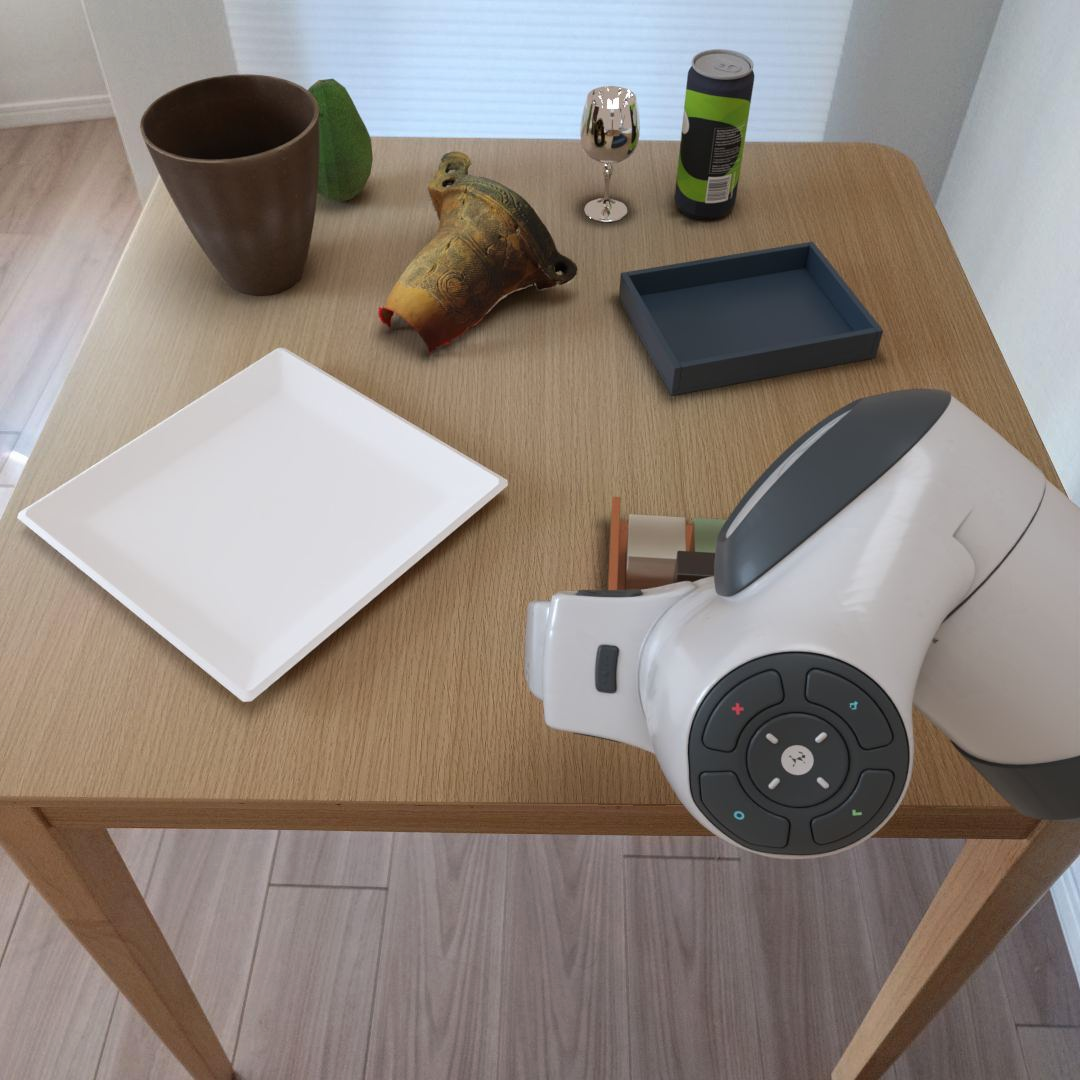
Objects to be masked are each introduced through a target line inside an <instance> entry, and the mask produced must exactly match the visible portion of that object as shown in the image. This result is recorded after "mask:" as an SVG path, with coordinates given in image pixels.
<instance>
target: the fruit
mask: <svg viewBox="0 0 1080 1080" xmlns="http://www.w3.org/2000/svg"><path fill="white" fill-rule="evenodd" d="M307 90H308V91H309V92H310V93H311V94H312V95H313V97H314V98H315V99H316V101H317V104H318V108H319V174H318V189H317V195H318V196H320V197H322V198H324V199H326V200H330V201H334V202H340V203H341V202H345V201H350V200H353V199H354V198H355V197H356V196H358V195H359V194H360V193H361V192H362V190H363V189H364V188H365V186H366V184H367V182H368V180H369V178H370V176H371V173H372V167H373V160H374V156H373V155H374V154H373V145H372V138H371V136H370V133H369V131H368V128H367V126H366V124H365V122H364V120H363V118H362V117H361V115H360V113H359V111H358V109H357V107H356V105H355V103H354V100H353V99H352V97H351V96H350V94H349V92H348V90H347V88H346V87H345V86H344V85H342V84H341V83H340V82H339V81H338V80H336V79H334V78H327V79H318V80H317V81H315V82H314V83H313V84H312V85H311V86H310V87H309V88H308V89H307Z"/></svg>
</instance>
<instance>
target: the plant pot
mask: <svg viewBox="0 0 1080 1080" xmlns="http://www.w3.org/2000/svg"><path fill="white" fill-rule="evenodd" d="M139 131H140V134H141V137H142V139H143V141H144V144H145V146H146V148H147V151H148V152H149V155H150V157H151V159H152V161H153V163H154V166H155V167H156V170H157V172H158V174H159V177H160V178H161V181H162V182H163V185H164V186H165V189H166V190H167V192H168V194H169V196H170V198H171V200H172V202H173V204H174V206H175V207H176V210H177V211H178V212H179V214H180V216H181V218H182V220H183V221H184V223H185V225H186V226H187V228H188V230H189V231H190V233H191V234H192V236H193V238H194V239H195V241H196V242H197V244H198V245H199V247H200V248H201V250H202V251H203V253H204V254H205V256H206V257H207V259H209V261H210V262H211V264H212V266H214V268H215V270H216V271H217V272H218V273H219V274H220V276H221V277H222V278H223V279H224V281H225V283H227V285H228V286H229V287H230V288H231V289H233V290H235V291H236V292H239V293H242V294H244V295H250V296H269V295H273V294H277V293H281V292H283V291H285V290H287V289H289V288H291V287H292V286H294V285H296V283H298V282H299V280H300V279H301V278H302V276H303V275H304V274H303V273H304V271H305V266H306V262H307V259H308V255H309V250H310V245H311V240H312V235H313V229H314V223H315V216H316V209H317V199H318V198H317V197H318V194H317V189H318V174H319V108H318V104H317V101H316V99H315V98H314V97H313V95H312V94H311V93H310V92H309V91H308V89H306V88H305V87H303V86H301V85H300V84H298V83H295V82H293V81H291V80H288V79H286V78H281V77H277V76H271V75H264V74H253V73H252V74H250V73H249V74H248V73H246V74H243V73H242V74H226V75H225V74H224V75H219V76H211V77H207V78H203V79H198V80H195V81H192V82H189V83H185V84H183V85H180V86H178V87H176V88H173V89H172V90H170V91H167V92H165V93H164V94H163V95H161V96H159V97H158V98H156V99H155V100H154V101H153V102H152V103H151V104H150V105H149V106H148V107H147V108H146V110H144V112H143V114H142V116H141V119H140V124H139Z"/></svg>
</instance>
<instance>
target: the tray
mask: <svg viewBox="0 0 1080 1080" xmlns="http://www.w3.org/2000/svg"><path fill="white" fill-rule="evenodd" d="M618 292H619V293H618V301H619V303H620V305H621V307H622V309H623V311H624V312H625V314H626V316H627V317H628V319H629V321H630V323H631V325H632V327H633V328H634V330H635V332H636V334H637V335H638V338H639V339H640V341H641V343H642V344H643V346H644V349H645V350H646V352H647V354H648V355H649V357H650V359H651V361H652V363H653V365H654V367H655V368H656V370H657V372H658V374H659V376H660V378H661V379H662V381H663V383H664V384H665V387H666V388H667V390H668V392H669V393H670V396H678V395H684V394H688V393H693V392H694V393H695V392H698V391H705V390H710V389H715V388H720V387H725V386H731V385H737V384H741V383H748V382H752V381H757V380H763V379H769V378H774V377H779V376H780V377H781V376H785V375H790V374H797V373H801V372H806V371H812V370H816V369H817V370H818V369H822V368H827V367H828V368H829V367H832V366H837V365H838V366H839V365H845V364H849V363H855V362H859V361H860V362H861V361H866V360H871V359H876V357H877V355H878V351H879V347H880V345H881V341H882V337H883V334H884V329H883V328H882V327H881V325H880V324H879V323H878V322H877V320H876V319H875V318H874V317H873V315H872V314H871V313H870V312H869V310H868V309H867V308H866V306H865V305H864V304H863V303H862V302H861V300H860V299H859V297H857V295H856V294H855V292H854V291H853V290H852V289H851V288H850V287H849V285H848V284H847V283H846V282H845V280H844V279H843V278H842V276H841V275H840V274H839V272H838V271H837V270H836V268H834V266H833V265H832V264H831V262H830V261H829V260H828V259H827V257H826V256H825V255H824V253H822V252H821V250H820V249H819V247H818V246H817V245H816V243H814V241H807V242H802V243H796V244H788V245H783V246H777V247H771V248H770V247H769V248H764V249H759V250H753V251H746V252H739V253H735V254H734V253H733V254H728V255H722V256H715V257H710V258H709V257H708V258H704V259H697V260H691V261H685V262H679V263H673V264H667V265H666V264H665V265H660V266H655V267H648V268H643V269H636V270H630V271H624V272H620V279H619V291H618Z"/></svg>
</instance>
